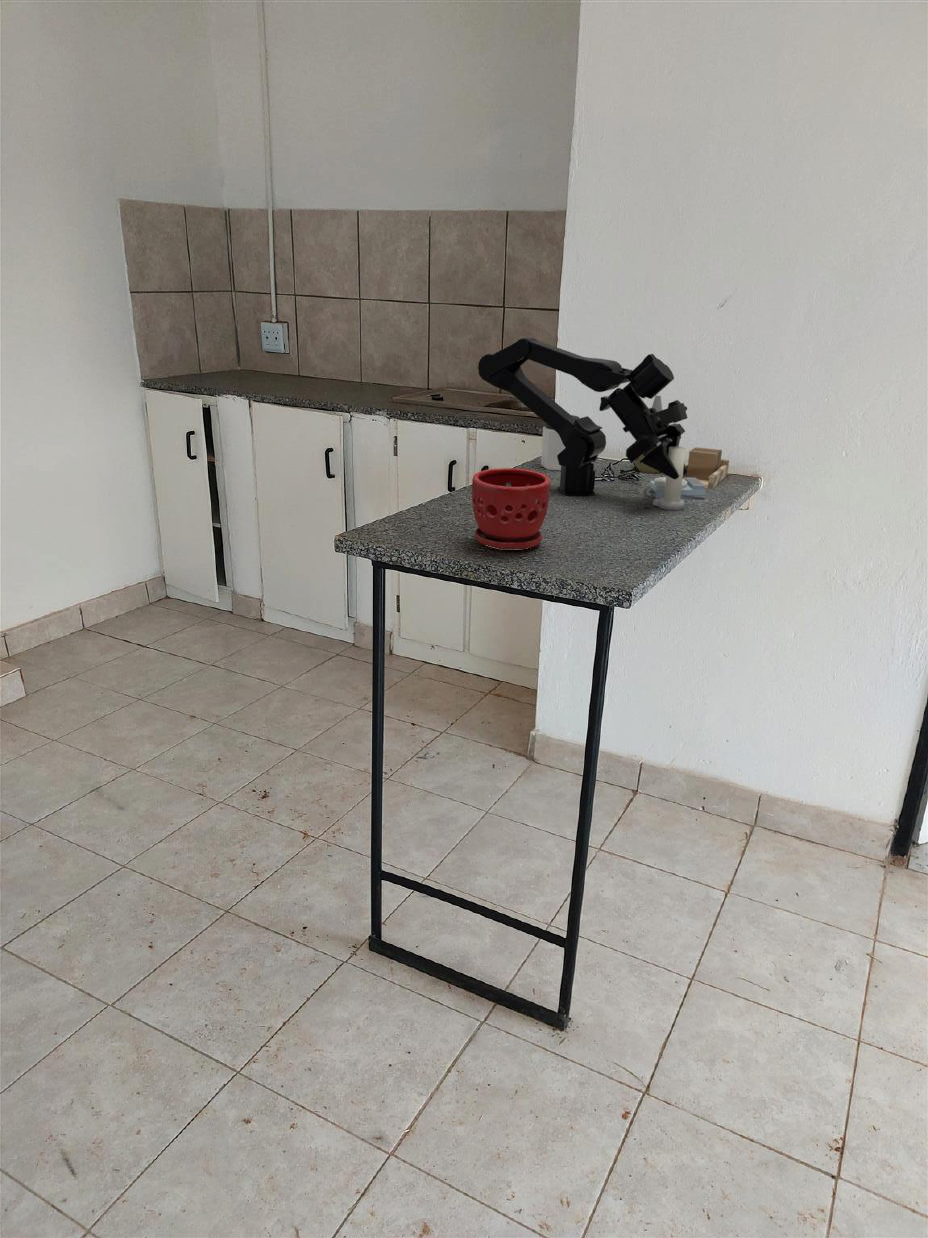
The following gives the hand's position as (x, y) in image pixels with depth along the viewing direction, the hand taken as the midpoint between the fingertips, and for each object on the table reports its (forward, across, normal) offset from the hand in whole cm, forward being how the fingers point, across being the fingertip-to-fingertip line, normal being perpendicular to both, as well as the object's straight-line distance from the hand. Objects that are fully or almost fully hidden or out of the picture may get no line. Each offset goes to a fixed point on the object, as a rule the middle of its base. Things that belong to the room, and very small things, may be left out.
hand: (681, 475), depth 178 cm
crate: (+1, +28, +7) cm, 29 cm away
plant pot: (-6, -42, +16) cm, 46 cm away
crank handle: (+4, 0, +6) cm, 7 cm away
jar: (-21, +21, +31) cm, 43 cm away
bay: (+2, +25, +7) cm, 26 cm away
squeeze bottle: (-7, +28, +16) cm, 33 cm away
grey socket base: (+2, +11, +8) cm, 14 cm away
